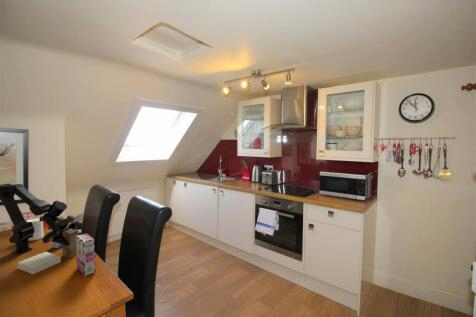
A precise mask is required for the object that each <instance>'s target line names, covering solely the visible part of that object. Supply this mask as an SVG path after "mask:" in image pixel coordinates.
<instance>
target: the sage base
mask: <svg viewBox="0 0 476 317" xmlns="http://www.w3.org/2000/svg"><path fill="white" fill-rule="evenodd" d="M61 261H62V260H61V255H58V254H55V253H52V252H51V253H50V252H48V251H44V252H42V253H39V254H36V255H33V256H31V257H29V258H25V259H23V260H20V261H18V262H17V269H19V270H21V271H24V272H26V273H29V274H31V275H34V274H37V273H39V272H41V271H43V270H45V269H48V268H51V267H53V266H54V265H56V264H60V263H61Z"/></svg>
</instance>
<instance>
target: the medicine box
mask: <svg viewBox="0 0 476 317" xmlns="http://www.w3.org/2000/svg"><path fill="white" fill-rule="evenodd" d="M50 239H51V240H50V242H51V241H52V238H50ZM51 248H53V249H60V248H63V247H62V244H60V243H56V242H51Z"/></svg>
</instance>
